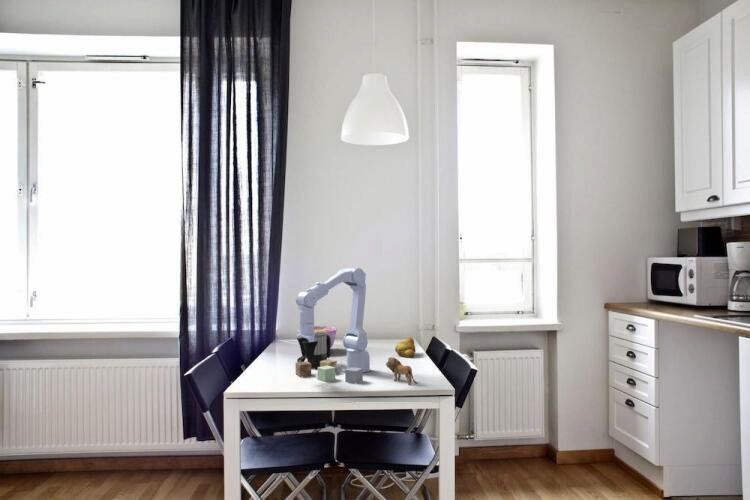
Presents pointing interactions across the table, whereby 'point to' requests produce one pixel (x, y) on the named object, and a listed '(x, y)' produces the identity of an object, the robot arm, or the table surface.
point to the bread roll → (406, 348)
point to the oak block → (329, 363)
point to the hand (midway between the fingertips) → (307, 357)
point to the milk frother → (319, 350)
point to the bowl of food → (329, 330)
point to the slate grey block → (354, 375)
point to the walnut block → (303, 369)
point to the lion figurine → (400, 370)
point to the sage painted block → (326, 373)
